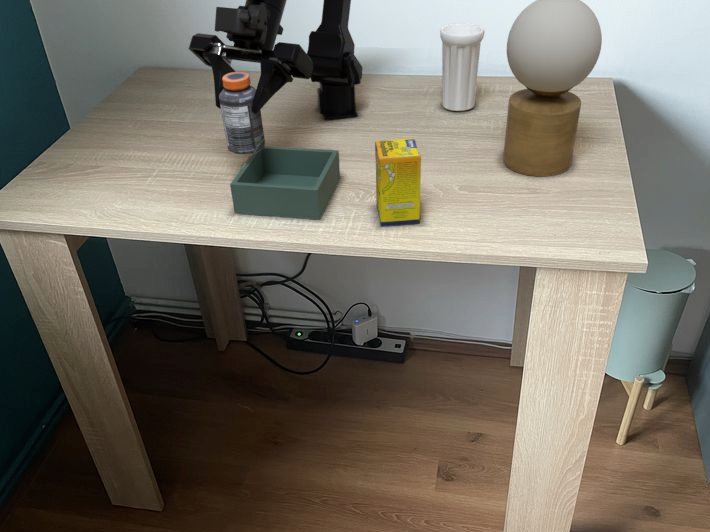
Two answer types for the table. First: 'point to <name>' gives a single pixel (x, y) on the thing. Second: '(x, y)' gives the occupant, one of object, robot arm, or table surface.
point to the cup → (460, 64)
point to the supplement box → (398, 181)
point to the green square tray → (286, 182)
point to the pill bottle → (240, 115)
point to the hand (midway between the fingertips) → (235, 110)
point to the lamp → (548, 83)
